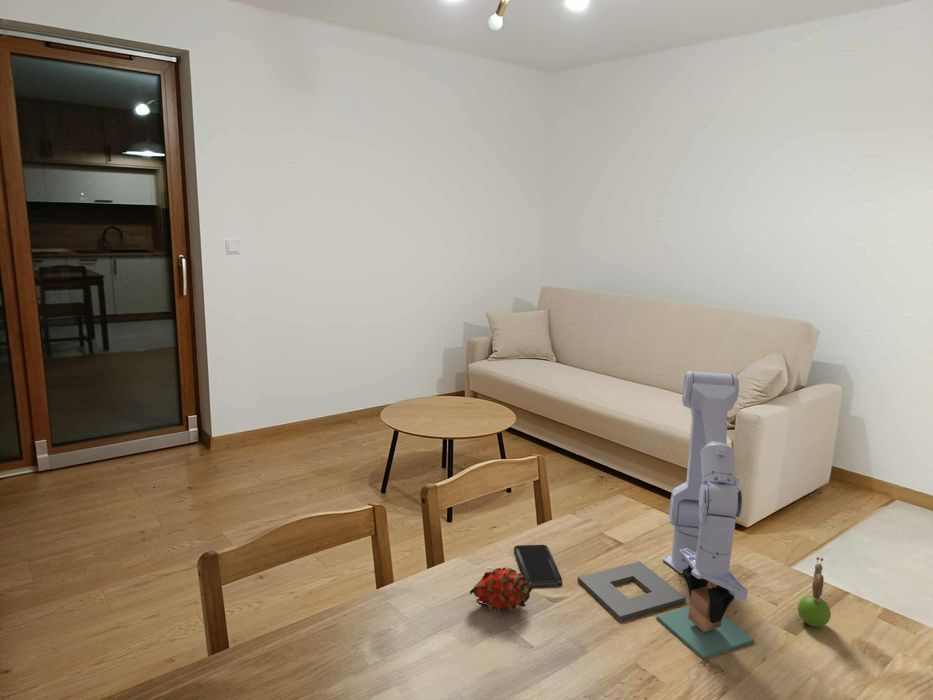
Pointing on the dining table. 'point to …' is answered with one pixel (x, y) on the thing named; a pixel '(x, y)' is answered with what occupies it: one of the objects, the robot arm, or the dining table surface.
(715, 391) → the robot arm
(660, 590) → the charcoal pocket board
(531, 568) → the phone
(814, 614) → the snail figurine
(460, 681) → the dining table surface
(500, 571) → the dragon fruit
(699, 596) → the terracotta block
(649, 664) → the dining table surface
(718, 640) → the teal mat
